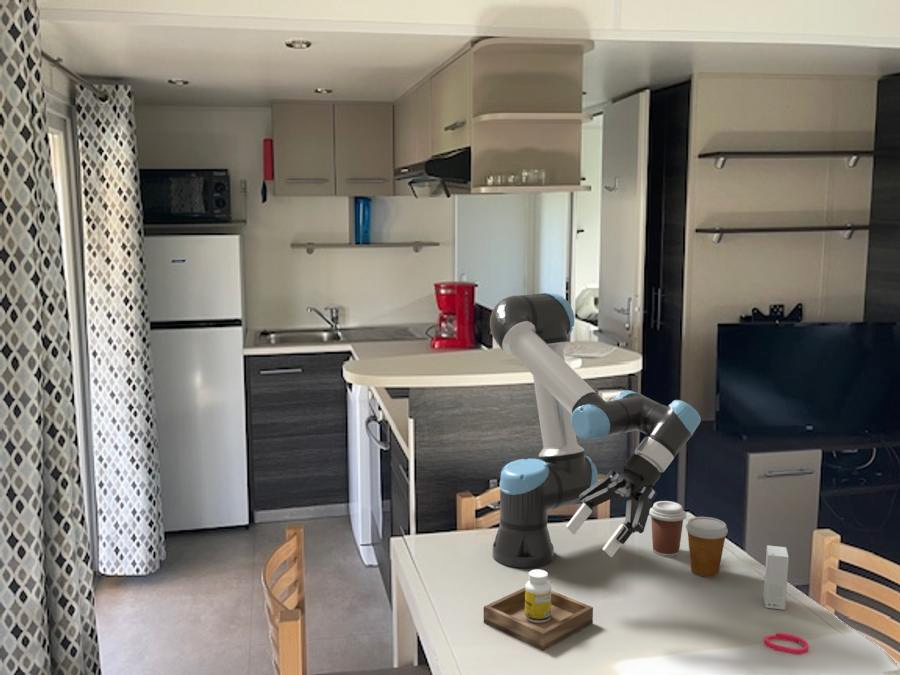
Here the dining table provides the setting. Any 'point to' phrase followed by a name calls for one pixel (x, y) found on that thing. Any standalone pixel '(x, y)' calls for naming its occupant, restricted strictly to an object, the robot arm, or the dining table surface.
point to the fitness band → (788, 638)
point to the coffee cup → (666, 527)
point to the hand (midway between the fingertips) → (587, 541)
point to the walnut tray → (561, 625)
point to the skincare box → (776, 577)
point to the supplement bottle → (538, 597)
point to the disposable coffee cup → (706, 545)
